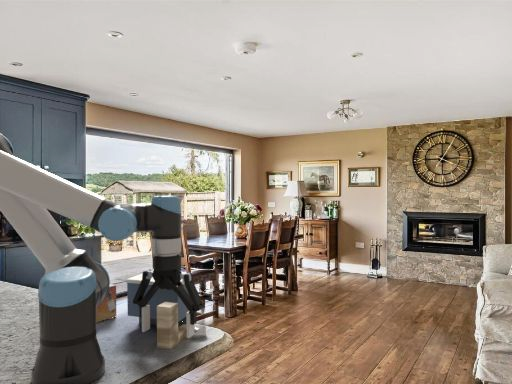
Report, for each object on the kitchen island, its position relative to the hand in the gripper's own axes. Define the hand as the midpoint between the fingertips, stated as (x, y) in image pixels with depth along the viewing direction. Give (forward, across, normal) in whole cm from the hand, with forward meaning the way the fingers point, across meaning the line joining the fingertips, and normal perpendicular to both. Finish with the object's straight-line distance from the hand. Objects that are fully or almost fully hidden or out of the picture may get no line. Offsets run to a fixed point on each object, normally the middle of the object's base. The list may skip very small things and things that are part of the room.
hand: (167, 333), depth 110 cm
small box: (+4, +32, -12) cm, 34 cm away
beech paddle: (+3, 0, -4) cm, 6 cm away
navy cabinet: (+3, +10, -10) cm, 15 cm away
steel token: (+4, -4, -9) cm, 10 cm away
